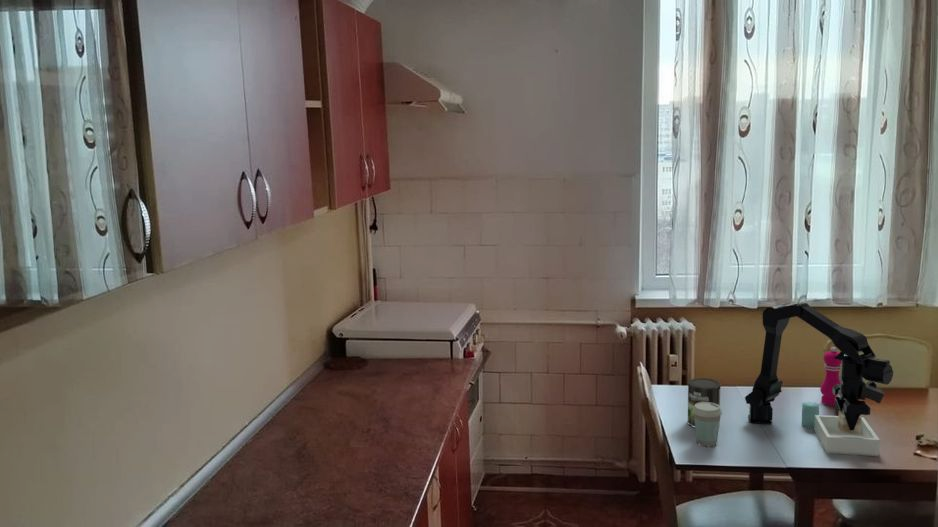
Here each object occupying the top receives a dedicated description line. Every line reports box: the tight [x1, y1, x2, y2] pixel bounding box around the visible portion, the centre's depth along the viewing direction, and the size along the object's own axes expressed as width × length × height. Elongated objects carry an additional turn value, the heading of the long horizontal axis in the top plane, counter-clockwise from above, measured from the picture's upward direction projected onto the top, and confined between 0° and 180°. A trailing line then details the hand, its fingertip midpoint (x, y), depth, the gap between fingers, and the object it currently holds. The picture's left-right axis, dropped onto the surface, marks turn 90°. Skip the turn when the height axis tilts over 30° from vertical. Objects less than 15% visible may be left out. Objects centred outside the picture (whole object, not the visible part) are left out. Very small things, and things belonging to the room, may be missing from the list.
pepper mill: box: [819, 346, 842, 406], centre depth 255 cm, size 7×7×20 cm
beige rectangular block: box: [838, 411, 862, 434], centre depth 218 cm, size 5×5×5 cm
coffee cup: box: [693, 402, 723, 448], centre depth 226 cm, size 9×8×12 cm
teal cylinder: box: [801, 401, 820, 429], centre depth 237 cm, size 5×5×7 cm
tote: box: [813, 414, 881, 457], centre depth 223 cm, size 14×18×5 cm
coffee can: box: [687, 377, 722, 426], centre depth 241 cm, size 10×10×14 cm
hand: (849, 426), depth 218 cm, fingers closed on beige rectangular block, 5 cm apart
